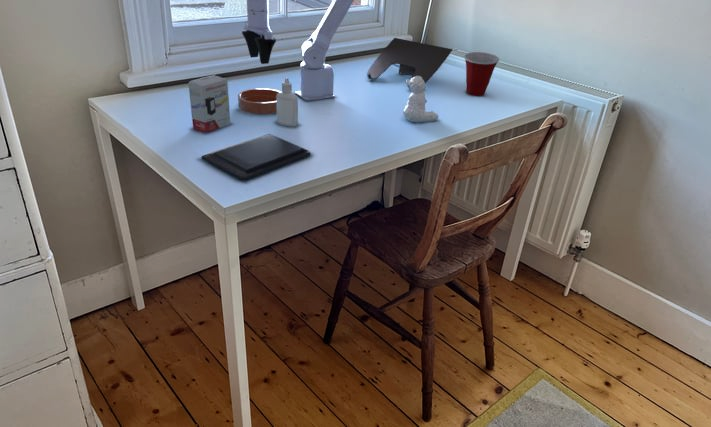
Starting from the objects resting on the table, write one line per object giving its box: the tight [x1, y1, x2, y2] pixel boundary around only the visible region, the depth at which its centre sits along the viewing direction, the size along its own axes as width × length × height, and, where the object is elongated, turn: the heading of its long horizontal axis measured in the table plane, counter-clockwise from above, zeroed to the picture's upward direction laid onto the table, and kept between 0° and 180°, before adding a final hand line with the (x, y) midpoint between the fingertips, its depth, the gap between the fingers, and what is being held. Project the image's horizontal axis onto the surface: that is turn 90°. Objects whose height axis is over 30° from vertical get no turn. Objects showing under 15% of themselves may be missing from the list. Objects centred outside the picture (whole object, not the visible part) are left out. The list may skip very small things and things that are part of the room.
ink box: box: [188, 74, 231, 134], centre depth 125 cm, size 9×5×12 cm, turn 148°
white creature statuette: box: [402, 76, 439, 123], centre depth 138 cm, size 10×9×12 cm
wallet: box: [201, 133, 311, 182], centre depth 113 cm, size 20×2×15 cm
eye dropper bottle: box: [276, 77, 299, 128], centre depth 129 cm, size 4×6×12 cm
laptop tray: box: [366, 37, 454, 92], centre depth 173 cm, size 23×23×9 cm
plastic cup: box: [463, 51, 500, 97], centre depth 162 cm, size 11×11×12 cm
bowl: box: [237, 88, 281, 115], centre depth 141 cm, size 13×13×4 cm
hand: (259, 60), depth 146 cm, fingers open, 7 cm apart
